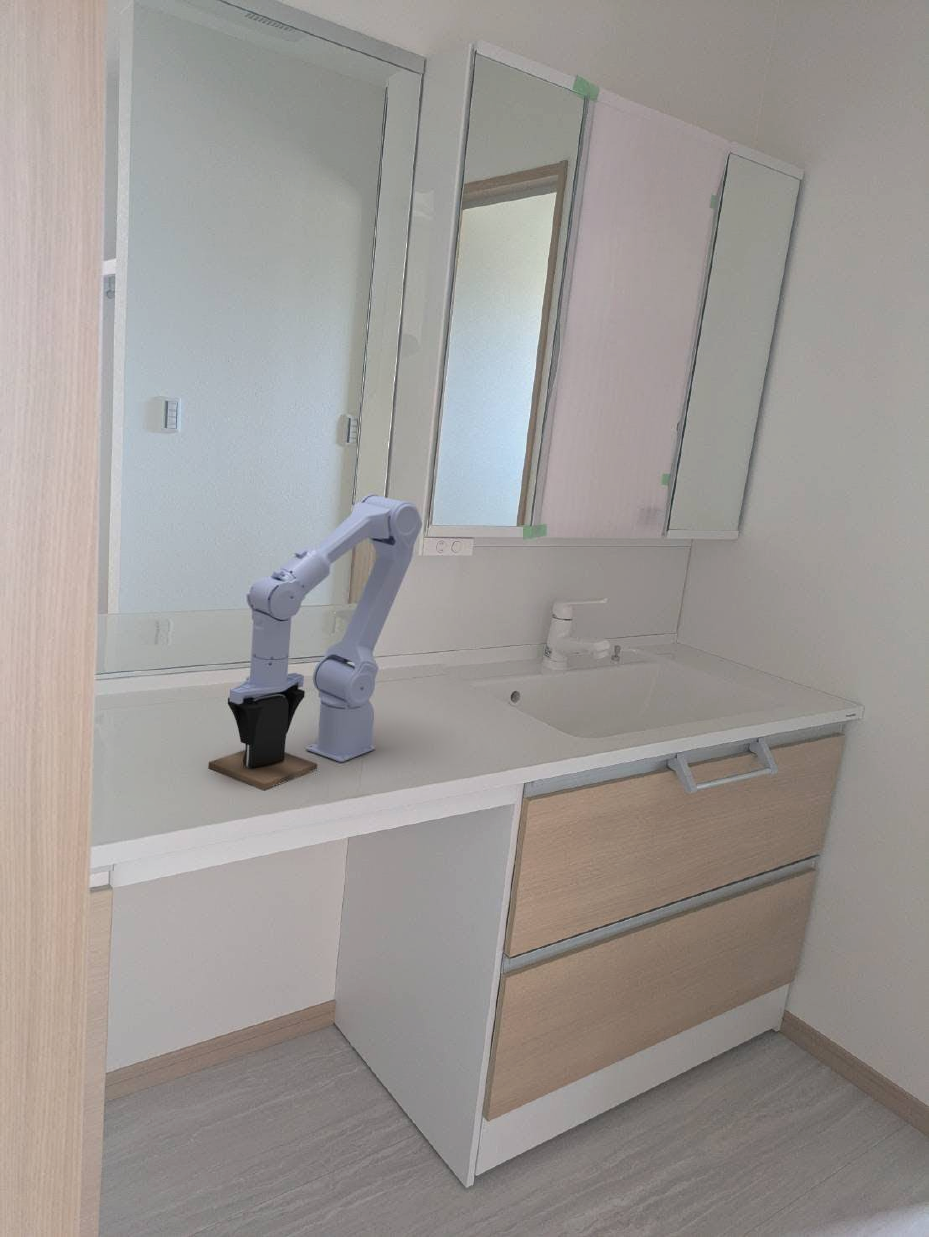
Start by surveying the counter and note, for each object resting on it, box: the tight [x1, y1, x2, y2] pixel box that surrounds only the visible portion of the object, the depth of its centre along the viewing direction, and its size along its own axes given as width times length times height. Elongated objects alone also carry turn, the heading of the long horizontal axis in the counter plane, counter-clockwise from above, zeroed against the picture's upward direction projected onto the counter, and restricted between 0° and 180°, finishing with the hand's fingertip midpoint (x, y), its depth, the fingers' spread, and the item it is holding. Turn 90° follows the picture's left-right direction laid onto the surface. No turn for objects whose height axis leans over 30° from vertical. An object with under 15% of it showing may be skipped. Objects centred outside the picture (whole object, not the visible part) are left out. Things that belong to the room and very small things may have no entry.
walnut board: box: [208, 749, 318, 790], centre depth 158 cm, size 12×12×1 cm
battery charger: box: [243, 693, 288, 768], centre depth 157 cm, size 7×4×11 cm, turn 135°
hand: (264, 737), depth 157 cm, fingers open, 7 cm apart
